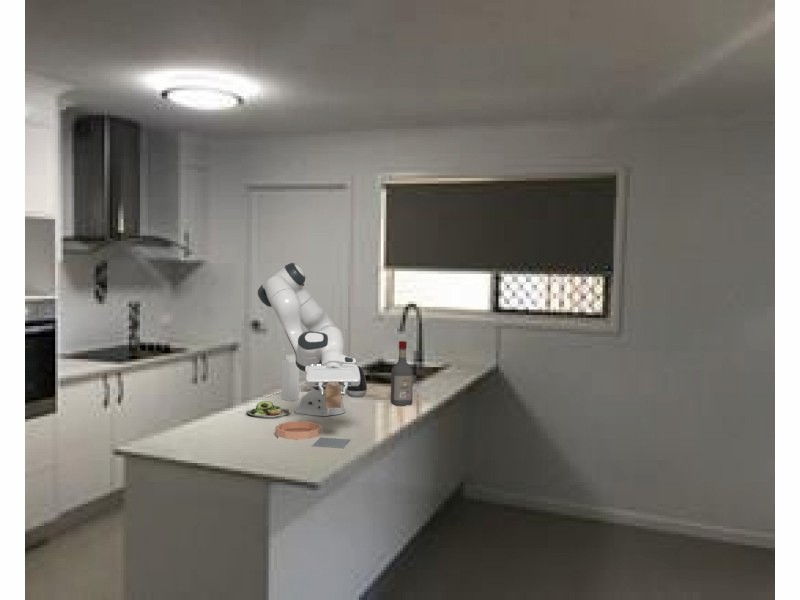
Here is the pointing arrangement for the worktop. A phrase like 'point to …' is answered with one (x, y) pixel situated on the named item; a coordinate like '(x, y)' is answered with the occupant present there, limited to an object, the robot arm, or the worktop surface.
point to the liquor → (401, 379)
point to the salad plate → (267, 411)
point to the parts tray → (331, 442)
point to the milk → (290, 378)
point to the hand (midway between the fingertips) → (333, 394)
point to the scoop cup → (333, 395)
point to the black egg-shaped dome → (361, 388)
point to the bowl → (298, 430)
